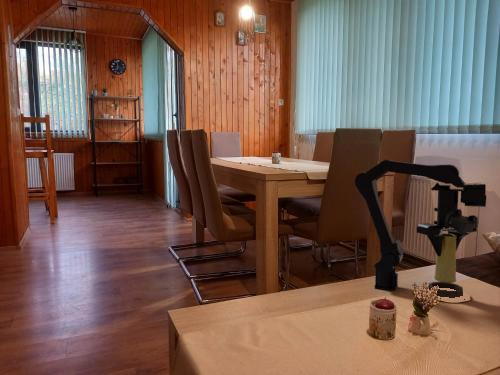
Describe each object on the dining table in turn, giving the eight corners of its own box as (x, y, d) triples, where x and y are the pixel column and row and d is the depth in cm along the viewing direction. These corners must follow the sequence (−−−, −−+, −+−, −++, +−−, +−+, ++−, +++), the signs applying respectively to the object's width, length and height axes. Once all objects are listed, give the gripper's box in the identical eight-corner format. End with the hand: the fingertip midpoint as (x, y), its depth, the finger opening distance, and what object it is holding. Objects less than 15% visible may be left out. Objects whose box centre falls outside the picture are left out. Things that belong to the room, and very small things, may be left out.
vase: (430, 277, 131) (432, 233, 129) (447, 276, 132) (449, 232, 131) (442, 283, 125) (444, 237, 123) (460, 282, 126) (462, 236, 125)
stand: (419, 299, 125) (420, 290, 125) (422, 285, 138) (422, 277, 138) (471, 305, 119) (472, 296, 119) (469, 291, 132) (469, 282, 132)
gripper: (444, 210, 116) (442, 264, 117) (493, 206, 122) (491, 258, 123) (415, 205, 126) (414, 255, 127) (462, 202, 132) (461, 250, 134)
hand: (446, 255), depth 128 cm, fingers closed on vase, 5 cm apart
